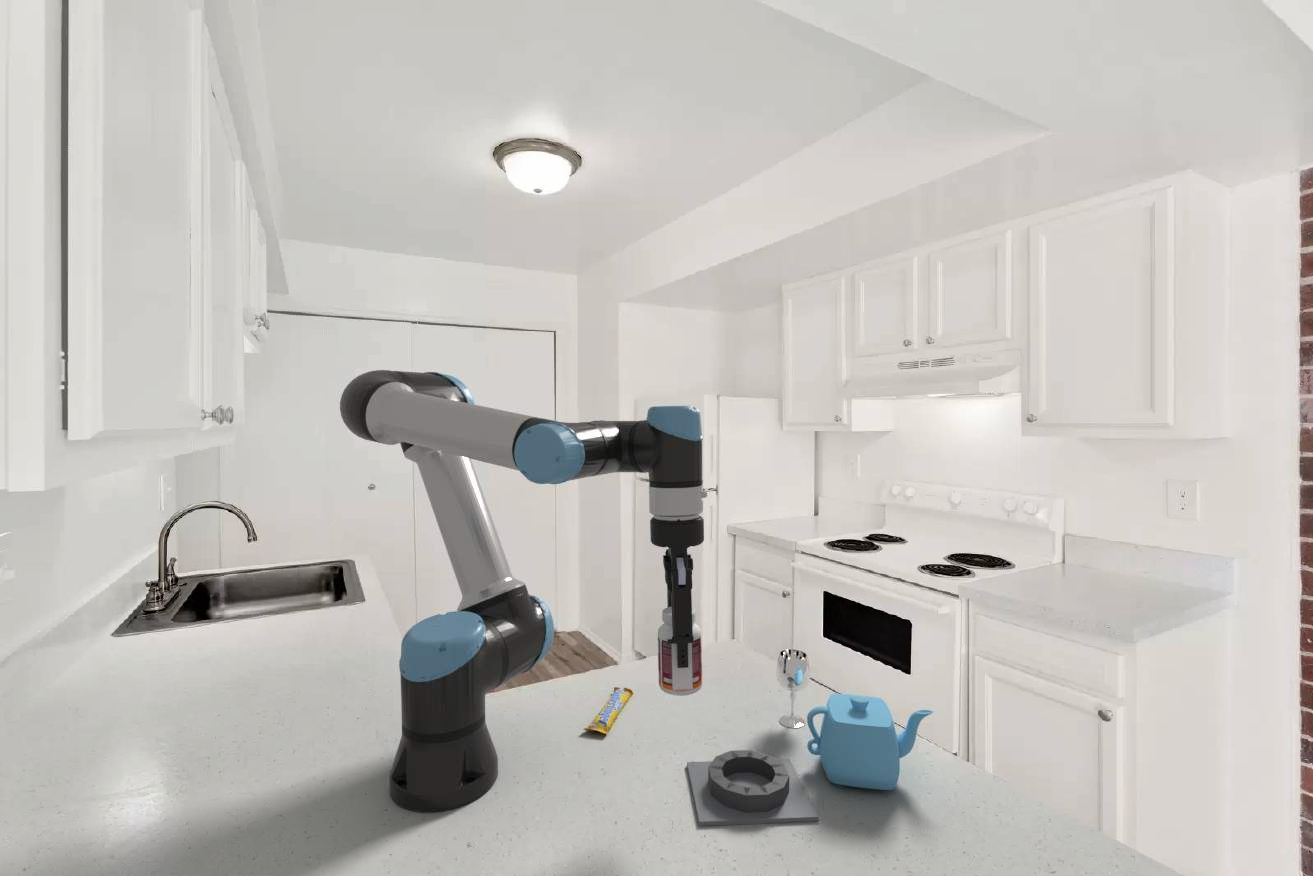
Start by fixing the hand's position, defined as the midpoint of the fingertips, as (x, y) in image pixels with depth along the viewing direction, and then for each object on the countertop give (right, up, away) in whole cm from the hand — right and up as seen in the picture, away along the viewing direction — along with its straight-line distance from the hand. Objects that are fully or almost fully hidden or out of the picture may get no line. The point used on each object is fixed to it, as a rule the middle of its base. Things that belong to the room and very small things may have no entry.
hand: (680, 677), depth 90 cm
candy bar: (-12, -16, +24) cm, 32 cm away
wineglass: (+20, -16, +22) cm, 34 cm away
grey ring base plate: (+10, -17, +1) cm, 19 cm away
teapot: (+28, -17, +6) cm, 34 cm away
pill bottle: (0, -2, 0) cm, 2 cm away
